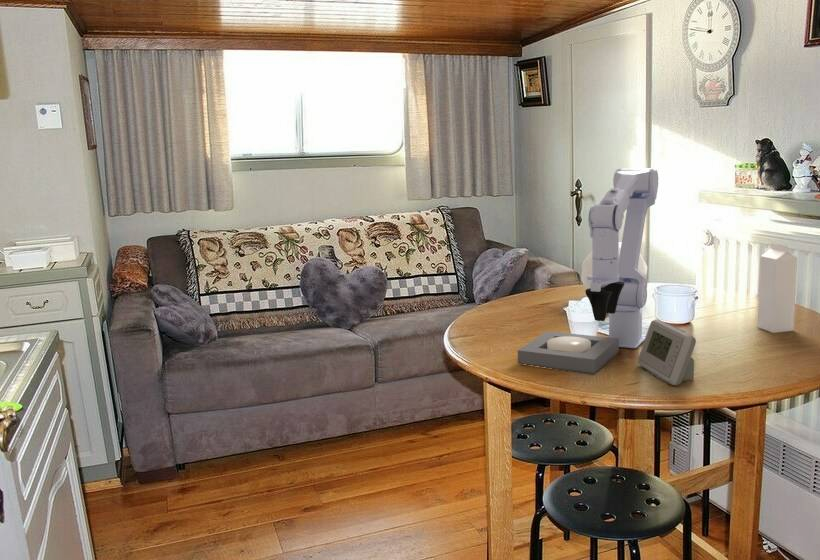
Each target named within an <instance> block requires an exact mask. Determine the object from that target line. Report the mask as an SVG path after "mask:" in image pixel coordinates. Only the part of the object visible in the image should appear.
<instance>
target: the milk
mask: <svg viewBox="0 0 820 560" xmlns="http://www.w3.org/2000/svg"><path fill="white" fill-rule="evenodd" d="M797 271H798V257H797V256H795V255H794V254H792V253H791V252H788V245H785V244H782V243H781V244H780V243H775V242H771V244H770V248H769V249H767V251H766V252H764V253H762V254H761V255H760V261H759V282H758V305H757V307H758V308H757V329H761V330H764V331H766V332H769V333H772V334H777V333H785V332H786V333H787V332H793V331H794V328H795V327H794V325H795V308H796V307H795V306H796V287H797V286H796V285H797Z"/></svg>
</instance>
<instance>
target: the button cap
mask: <svg viewBox="0 0 820 560" xmlns="http://www.w3.org/2000/svg"><path fill="white" fill-rule="evenodd" d="M590 348H591V341H590V340H588V339H585V338H581V337H571V336H565V337H556V338H552V339H550V340H548V341H547V349H551V350H560V351H568V352H577V353H585V352H586V351H588V350H589V349H590Z"/></svg>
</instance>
